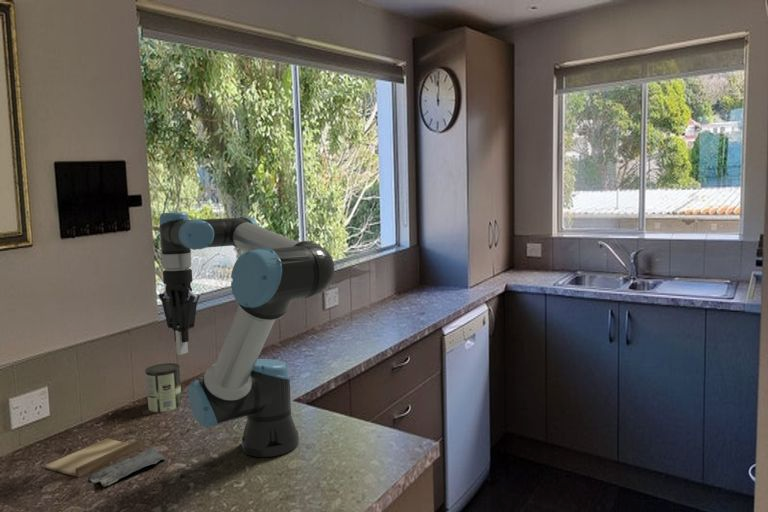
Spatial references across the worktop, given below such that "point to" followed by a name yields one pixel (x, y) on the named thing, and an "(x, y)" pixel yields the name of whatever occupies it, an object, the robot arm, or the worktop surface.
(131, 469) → the stone slab
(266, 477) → the worktop surface
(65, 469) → the board
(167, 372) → the coffee can
